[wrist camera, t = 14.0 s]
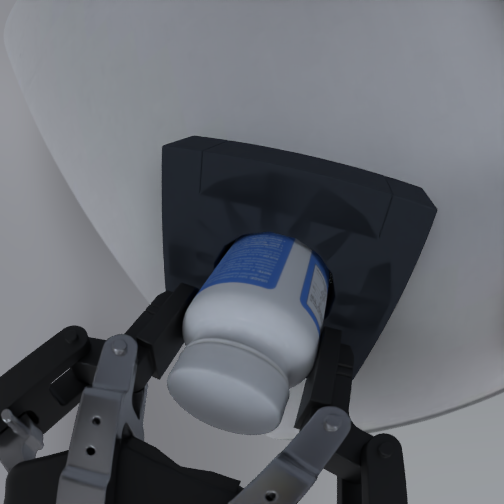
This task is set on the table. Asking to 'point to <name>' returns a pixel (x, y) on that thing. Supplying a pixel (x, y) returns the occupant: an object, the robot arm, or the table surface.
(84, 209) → the table surface
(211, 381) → the pill bottle
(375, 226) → the socket pad
